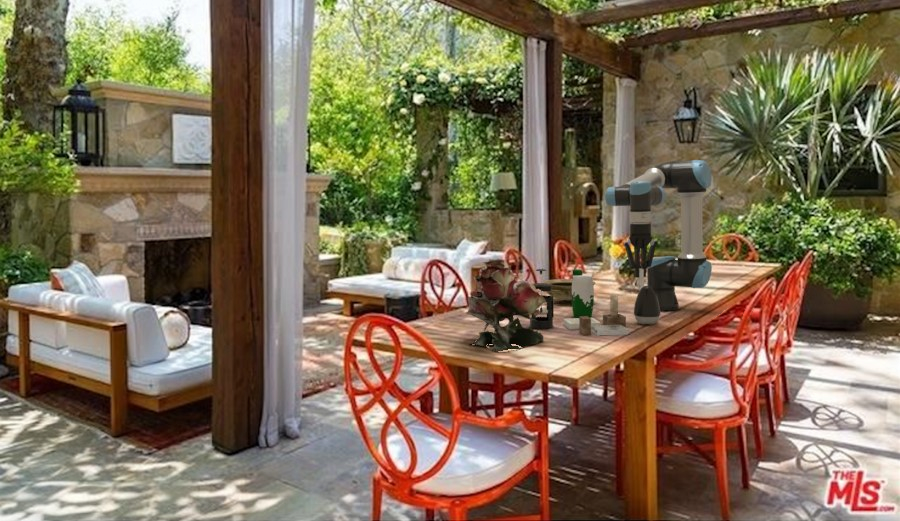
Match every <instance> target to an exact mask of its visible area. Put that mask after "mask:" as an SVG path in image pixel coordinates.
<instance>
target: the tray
mask: <svg viewBox="0 0 900 521" xmlns="http://www.w3.org/2000/svg"><path fill="white" fill-rule="evenodd" d="M562 321H563V323H562V324H563V326H564V327H565V328H567V329H568V330H569V331H579V318H574V317H573V318H563V320H562ZM598 325H601V321H599V320H597V319H596V318H594V317H591V326H598Z"/></svg>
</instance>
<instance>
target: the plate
mask: <svg viewBox="0 0 900 521" xmlns="http://www.w3.org/2000/svg"><path fill="white" fill-rule="evenodd" d="M629 330H630V329H629V328H627V326H626V327H624V326H622V325H603V324H602V325H601V324H600V325H598V326H591V333H592V332H593V333H594V334H593V333H592V334H593V335H595V336H596V335H597V336H596V337H601V336H600V335H609V336H627V335H628V334H630V331H629Z"/></svg>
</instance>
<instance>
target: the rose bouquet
mask: <svg viewBox="0 0 900 521" xmlns="http://www.w3.org/2000/svg"><path fill="white" fill-rule="evenodd" d="M483 266H484V267H482V268H480V269H479V270H478V272H479V275H474V277H473V283H475V287H476V288H475V289H474V290H473V291H471V293H470V296H468V298H467V302H468V310H467V311H466V312H465V313H466V314H467V315H470V316H472V317H474V318H477V319H479V320H482V321H483V322H485V323H486V324H485V326H484V329H483V331H481V332H478V334H479V337H478V340H477V339H476V340H477V341H476V342H471V344H477V345H476V346H480V347H483V346H486V345H487V344H488V345H487V346H489V344H494V345H493V346H490V348H487V349H489V350H492V351H494V352H497V351H503V350H508V349H519V350H522V349H525V347H526V348H527V347H528V346H532V345H537V344H539V343H540V342H544V336H543V334H542V333H541V332H539V329H536V330H535V329H532V328H530V327H527V326H526V327H523V325H522V324H521V320H520V319H519V316H520V317H522V318H525V319H528V320H529V321H530V320H535V319H532V317H530V316H532V315H534V316H536V317H538V315H540V314H539V313H540V310H539V309H540V308H541V305H543V304H546V303H547V302H546V300H545V298H544V297H543V296H540V295H541V294H540V293H541V290H538V289H536V288H535V286H534V285H533V284H534V283H533V282H530V281H527V280H523V279H522V280H519V281H517V282H516V279H517V274H514V273H513V271H512V267H511V266H510V265H509V263H508V262H506V260H505V259H502V258H497V259H492V258H489V259H488V260H487V261H485V262H483ZM536 309H538V310H536ZM514 316H518V317H516V318H515V319H514ZM506 319H507V320H508V323H507V324H506V325H504V326H501V325H500V322H503V321H505V320H506ZM536 321H537V320H536ZM488 326H492V328H493V329H494V331H489V330H486V329H488ZM511 344H516V345H519V346H521V347H523V348H522V349H521V348H519V347H518V346H512V345H511Z"/></svg>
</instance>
